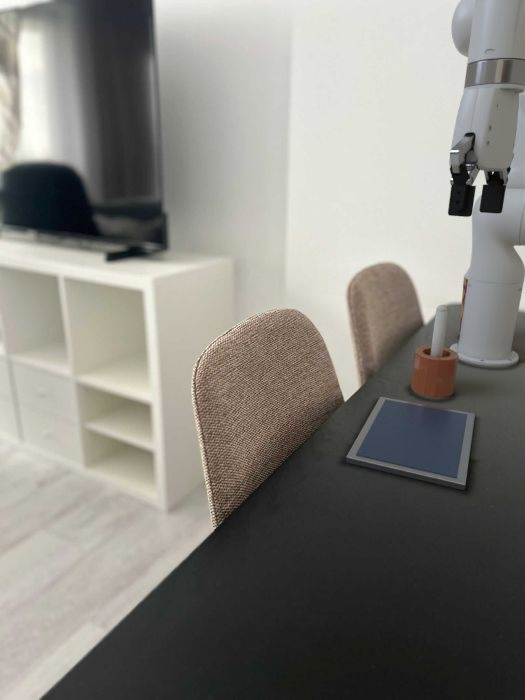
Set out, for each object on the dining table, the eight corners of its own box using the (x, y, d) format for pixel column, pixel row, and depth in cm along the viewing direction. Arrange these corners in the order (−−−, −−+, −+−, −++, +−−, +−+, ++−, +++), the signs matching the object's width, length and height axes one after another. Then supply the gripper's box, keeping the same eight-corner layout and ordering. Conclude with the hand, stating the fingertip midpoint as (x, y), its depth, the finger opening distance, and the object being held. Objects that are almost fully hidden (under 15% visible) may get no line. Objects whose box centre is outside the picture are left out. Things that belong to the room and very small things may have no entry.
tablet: (379, 400, 81) (380, 395, 81) (474, 418, 76) (475, 412, 76) (345, 462, 64) (345, 456, 64) (464, 490, 59) (465, 484, 58)
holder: (413, 381, 89) (418, 343, 86) (454, 388, 86) (460, 349, 84) (407, 396, 83) (411, 355, 81) (450, 404, 80) (457, 362, 78)
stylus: (426, 386, 86) (437, 302, 81) (438, 388, 85) (449, 304, 80) (425, 390, 84) (436, 305, 79) (436, 392, 83) (448, 306, 78)
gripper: (494, 90, 76) (476, 210, 81) (435, 75, 64) (420, 215, 70) (548, 85, 71) (526, 213, 76) (495, 67, 59) (473, 219, 65)
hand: (475, 214), depth 73 cm, fingers open, 9 cm apart
